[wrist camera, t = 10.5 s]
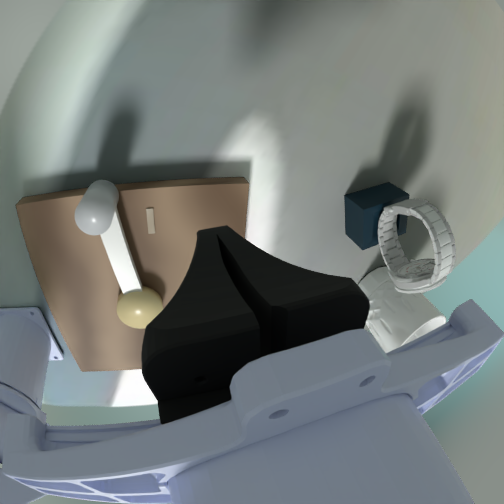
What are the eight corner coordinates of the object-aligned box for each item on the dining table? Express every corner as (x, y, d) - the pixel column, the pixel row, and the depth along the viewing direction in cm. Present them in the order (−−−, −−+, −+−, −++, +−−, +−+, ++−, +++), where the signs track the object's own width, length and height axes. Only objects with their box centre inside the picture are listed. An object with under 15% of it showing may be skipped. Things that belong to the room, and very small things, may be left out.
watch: (345, 249, 29) (410, 321, 21) (343, 177, 25) (430, 240, 16) (387, 233, 30) (453, 294, 21) (389, 165, 25) (476, 217, 16)
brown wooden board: (82, 361, 28) (81, 372, 26) (22, 197, 17) (15, 205, 16) (232, 347, 33) (235, 358, 31) (243, 177, 22) (249, 183, 21)
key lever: (167, 315, 25) (170, 343, 22) (126, 323, 24) (125, 352, 22) (125, 173, 17) (119, 190, 15) (72, 187, 17) (58, 207, 14)
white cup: (406, 271, 35) (453, 320, 27) (371, 315, 38) (410, 367, 30) (376, 253, 31) (432, 310, 23) (336, 305, 34) (379, 367, 26)
